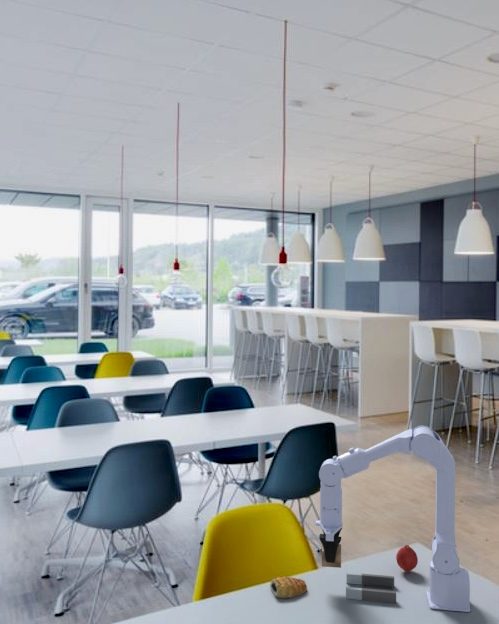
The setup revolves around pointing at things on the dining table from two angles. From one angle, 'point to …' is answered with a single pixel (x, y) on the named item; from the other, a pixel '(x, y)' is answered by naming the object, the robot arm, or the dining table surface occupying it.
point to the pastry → (287, 587)
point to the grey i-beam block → (371, 587)
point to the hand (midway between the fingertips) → (331, 557)
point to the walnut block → (337, 560)
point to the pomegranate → (407, 558)
